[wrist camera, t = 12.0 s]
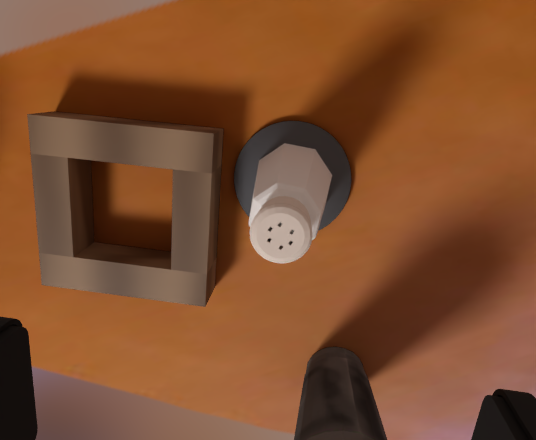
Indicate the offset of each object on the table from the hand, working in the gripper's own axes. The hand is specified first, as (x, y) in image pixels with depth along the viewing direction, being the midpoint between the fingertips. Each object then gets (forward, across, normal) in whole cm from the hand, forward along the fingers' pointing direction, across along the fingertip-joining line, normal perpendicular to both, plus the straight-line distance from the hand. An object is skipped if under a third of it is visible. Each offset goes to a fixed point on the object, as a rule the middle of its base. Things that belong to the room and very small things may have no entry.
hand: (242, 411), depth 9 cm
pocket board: (+22, +11, +3) cm, 25 cm away
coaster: (+22, 0, 0) cm, 22 cm away
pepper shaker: (+22, 0, 0) cm, 22 cm away
